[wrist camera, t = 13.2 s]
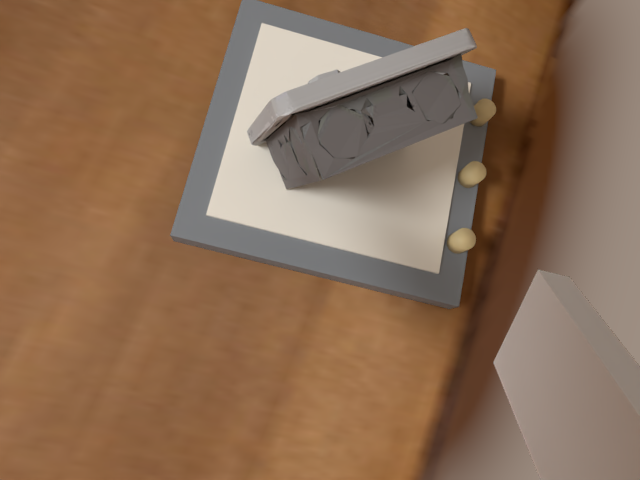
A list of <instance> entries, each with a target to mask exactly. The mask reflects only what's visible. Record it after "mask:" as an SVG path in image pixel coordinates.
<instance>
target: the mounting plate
mask: <svg viewBox="0 0 640 480" xmlns="http://www.w3.org/2000/svg"><path fill="white" fill-rule="evenodd" d="M411 47H414V46H412V45H409V44H405V43H402V42H398V41H395V40H391V39H388V38H384V37H381V36H378V35H374V34H371V33H367V32H364V31H360V30H357V29H353V28H350V27H347V26H343V25H340V24H336V23H333V22H329V21H326V20H323V19H319V18H316V17H312V16H309V15H305V14H302V13H298V12H295V11H292V10H288V9H285V8H281V7H278V6H274V5H271V4H267V3H264V2H261V1H257V0H242V2H241V5H240V8H239V12H238V15H237V18H236V21H235V25H234V28H233V31H232V34H231V38H230V41H229V44H228V48H227V51H226V54H225V57H224V61H223V64H222V67H221V71H220V74H219V77H218V80H217V84H216V87H215V90H214V94H213V97H212V100H211V103H210V107H209V110H208V113H207V116H206V120H205V123H204V126H203V130H202V133H201V136H200V139H199V143H198V146H197V149H196V153H195V156H194V159H193V162H192V166H191V169H190V172H189V176H188V179H187V182H186V185H185V189H184V192H183V195H182V198H181V202H180V205H179V208H178V212H177V215H176V218H175V221H174V225H173V228H172V231H171V235H170V236H171V237H172V239H173V240H174V241H176V242H180V243H184V244H188V245H192V246H196V247H200V248H204V249H208V250H212V251H217V252H221V253H225V254H229V255H233V256H237V257H241V258H245V259H249V260H253V261H257V262H261V263H265V264H269V265H273V266H277V267H281V268H285V269H289V270H293V271H298V272H302V273H306V274H310V275H314V276H318V277H322V278H326V279H330V280H334V281H338V282H342V283H346V284H350V285H354V286H358V287H362V288H366V289H370V290H374V291H378V292H383V293H387V294H391V295H395V296H399V297H403V298H407V299H411V300H415V301H419V302H423V303H427V304H431V305H435V306H439V307H443V308H447V309H451V308H456V307H459V304H460V297H461V291H462V285H463V278H464V272H465V265H466V259H467V253H468V250H469V249H471V248H472V247H473V246H474V245H475V243H476V236H475V234H474V232H473V231H472V230H471V227H472V221H473V215H474V208H475V202H476V195H477V189H478V183H479V182H480V181H482V180H483V179H484V178H485V176H486V168H485V166H484V165H483V164H482V157H483V151H484V145H485V138H486V132H487V125H488V120H489V119H490V118H491V117H493V116H494V114H495V113H496V106H495V104H494V103H493V102H492V101H491V100H492V94H493V87H494V81H495V75H496V70H495V69H491V68H488V67H484V66H481V65H477V64H474V63H471V62H467V61H464V60H462V62H463V67H464V70H465V73H466V76H467V79H468V89H469V94H470V97H471V100H472V103H473V105H474V108H475V111H476V114H477V117H478V118H477V119H474V120H472V121H469V122H467V123H464V124H462V125H459V126H457V127H454V128H452V129H449V130H447V131H444V132H442V133H439V134H437V135H434V136H432V137H429V138H427V139H424V140H422V141H419V142H417V143H414V144H412V145H409V146H407V147H404V148H402V149H399V150H397V151H394V152H392V153H389V154H387V155H384V156H382V157H379V158H377V159H374V160H372V161H369V162H367V163H364V164H362V165H359V166H357V167H354V168H352V169H349V170H347V171H344V172H342V173H339V174H337V175H334V176H332V177H329V178H327V179H324V180H322V177H321V176H320V179H321V181H317V182H313V183H310V184H306V185H302V186H298V187H294V188H290V189H286V188H285V185H284V182H283V180H282V177H281V175H280V172H279V169H278V168H277V166H276V165H275V163H274V161H273V159H272V156H271V154H270V151H269V148H268V146H267V143H266V142H265V143H262V144H260V145H257V146H255V145H251V142H250V139H249V136H248V133H247V130H248V129H249V127H250V126H251V125H252V123H253V122H254V121H255V119H256V118H257V117H258V115H259V114H260V113H261V112H262V110H263V109H264V108H265V106H266V105H267V104H268V102H269V101H270V100H271V99H273V98H275V97H276V96H278V95H280V94H282V93H284V92H286V91H289V90H291V89H294V88H297V87H300V86H303V85H306V84H308V82H309V80H311V79H313V78H314V77H316V76H317V75H320V74H323V73H327V72H330V71H334V70H339V71H340V72H343V71H345V70H348V69H351V68H354V67H357V66H360V65H363V64H365V63H368V62H371V61H374V60H377V59H380V58H382V57H385V56H388V55H391V54H394V53H397V52H400V51H402V50H405V49H408V48H411ZM317 169H318V168H317Z"/></svg>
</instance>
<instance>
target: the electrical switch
mask: <svg viewBox="0 0 640 480" xmlns="http://www.w3.org/2000/svg"><path fill="white" fill-rule="evenodd" d="M475 48H477V46H476V43H475V41H474V39H473V37H472V35H471V33H470V31H469V29H467V28H465V29H462V30H459V31H456V32H454V33H451V34H448V35H445V36H442V37H439V38H436V39H434V40H431V41H428V42H425V43H422V44H419V45H417V46H414V47H411V48H408V49H405V50H402V51H400V52H397V53H394V54H391V55H388V56H385V57H382V58H380V59H377V60H374V61H371V62H368V63H365V64H363V65H360V66H357V67H354V68H351V69H348V70H345V71H343V72H340V71H339V70H334V71H330V72H327V73H323V74H320V75H317V76H316V77H314V78H313V79H311V80H309V82H308V84H306V85H303V86H300V87H297V88H294V89H291V90H289V91H286V92H284V93H282V94H280V95H278V96H276V97H275V98H273V99H271V100H270V101H269V102H268V104H267V105H266V106H265V108H264V109H263V110H262V112H261V113H260V114H259V115H258V117H257V118H256V119H255V121H254V122H253V123H252V125H251V126H250V127H249V129H248V130H247V133H248V136H249V139H250V142H251V145H255V146H257V145H260V144H262V143H265V142H266V143H267V146H268V148H269V151H270V154H271V156H272V159H273V161H274V163H275V165H276V166H277V168H278V169H279V172H280V175H281V177H282V180H283V182H284V185H285V188H286V189H290V188H294V187H298V186H302V185H306V184H310V183H313V182H317V181H321V179H320V176H321V177H322V180H324V179H327V178H329V177H332V176H334V175H337V174H339V173H342V172H344V171H347V170H349V169H352V168H354V167H357V166H359V165H362V164H364V163H367V162H369V161H372V160H374V159H377V158H379V157H382V156H384V155H387V154H389V153H392V152H394V151H397V150H399V149H402V148H404V147H407V146H409V145H412V144H414V143H417V142H419V141H422V140H424V139H427V138H429V137H432V136H434V135H437V134H439V133H442V132H444V131H447V130H449V129H452V128H454V127H457V126H459V125H462V124H464V123H467V122H469V121H472V120H474V119H477V118H478V117H477V114H476V111H475V108H474V105H473V103H472V100H471V97H470V94H469V89H468V79H467V76H466V73H465V70H464V67H463V62H462V57H461V55H463V54H465V53H467V52H469V51H471V50H473V49H475ZM317 168H318V169H317Z"/></svg>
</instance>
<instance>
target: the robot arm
mask: <svg viewBox="0 0 640 480" xmlns="http://www.w3.org/2000/svg"><path fill="white" fill-rule="evenodd" d="M493 363H494V365H495V368H496V370H497V373H498V375H499V378H500V380H501V383H502V385H503V388H504V390H505V393H506V395H507V398H508V400H509V403H510V406H511V408H512V410H513V413H514V416H515V418H516V421H517V423H518V425H519V428H520V430H521V433H522V435H523V438H524V441H525V443H526V446H527V448H528V451H529V453H530V456H531V458H532V461H533V463H534V466H535V468H536V470H537V473H538V475H539V478H540V480H640V366H639V365H638V363H637V362H636V361H635V360H634V358H633V357H632V356H631V355H630V353H629V352H628V351H627V350H626V348H625V347H624V346H623V344H622V343H621V342H620V341H619V339H618V338H617V337H616V335H615V334H614V333H613V332H612V330H611V329H610V328H609V326H608V325H607V324H606V323H605V321H604V320H603V319H602V318H601V316H600V315H599V314H598V312H597V311H596V310H595V309H594V307H593V306H592V305H591V304H590V302H589V301H588V300H587V298H586V297H585V296H584V295H583V293H582V292H581V291H580V290H579V288H578V287H577V286H576V284H575V283H574V282H573V281H572V279H571V278H570V277H568V276H563V275H559V274H555V273H551V272H547V271H542V270H538V271H537V273H536V275H535V277H534V279H533V281H532V283H531V285H530V287H529V289H528V291H527V293H526V295H525V298H524V300H523V302H522V304H521V306H520V308H519V310H518V312H517V314H516V316H515V318H514V320H513V323H512V325H511V327H510V329H509V331H508V333H507V335H506V337H505V339H504V341H503V343H502V345H501V348H500V350H499V352H498V354H497V356H496V358H495V360H494V362H493Z"/></svg>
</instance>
